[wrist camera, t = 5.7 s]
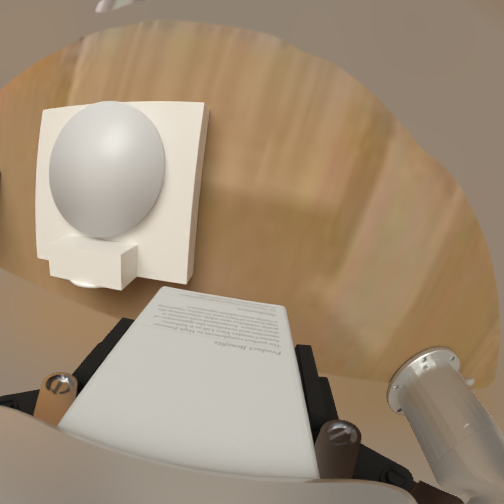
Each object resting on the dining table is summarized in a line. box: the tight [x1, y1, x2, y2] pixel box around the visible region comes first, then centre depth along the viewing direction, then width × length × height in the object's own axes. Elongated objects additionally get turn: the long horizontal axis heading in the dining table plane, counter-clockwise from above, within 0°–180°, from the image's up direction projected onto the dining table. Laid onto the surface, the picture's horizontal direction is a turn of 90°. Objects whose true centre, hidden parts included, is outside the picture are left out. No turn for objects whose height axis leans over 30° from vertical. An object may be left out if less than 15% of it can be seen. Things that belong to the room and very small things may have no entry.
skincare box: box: [57, 286, 320, 479], centre depth 9 cm, size 6×4×12 cm
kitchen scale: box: [36, 101, 210, 291], centre depth 28 cm, size 20×18×8 cm
